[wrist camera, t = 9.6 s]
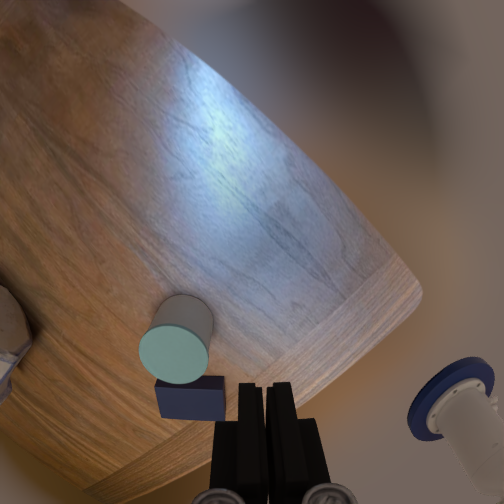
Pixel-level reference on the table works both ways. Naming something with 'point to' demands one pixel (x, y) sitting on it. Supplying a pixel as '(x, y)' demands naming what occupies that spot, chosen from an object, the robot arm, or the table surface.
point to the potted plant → (11, 339)
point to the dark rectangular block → (192, 399)
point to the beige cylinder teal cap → (178, 340)
